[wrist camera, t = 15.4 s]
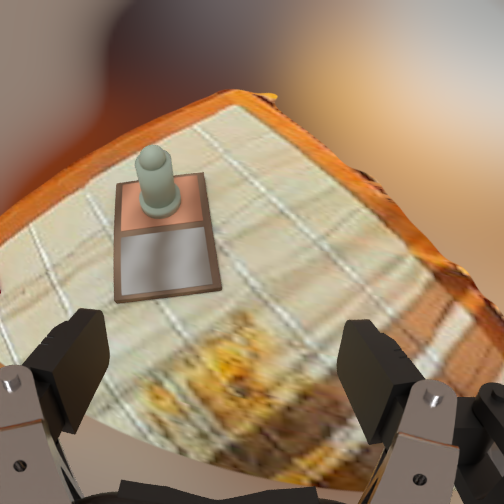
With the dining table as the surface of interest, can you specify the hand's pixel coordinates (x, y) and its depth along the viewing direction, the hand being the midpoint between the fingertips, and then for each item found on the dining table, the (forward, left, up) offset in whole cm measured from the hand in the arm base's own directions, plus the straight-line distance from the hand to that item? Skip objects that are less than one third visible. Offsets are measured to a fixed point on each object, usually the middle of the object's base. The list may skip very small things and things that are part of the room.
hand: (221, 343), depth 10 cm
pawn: (+4, -25, -25) cm, 36 cm away
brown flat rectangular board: (+4, -21, -26) cm, 34 cm away
